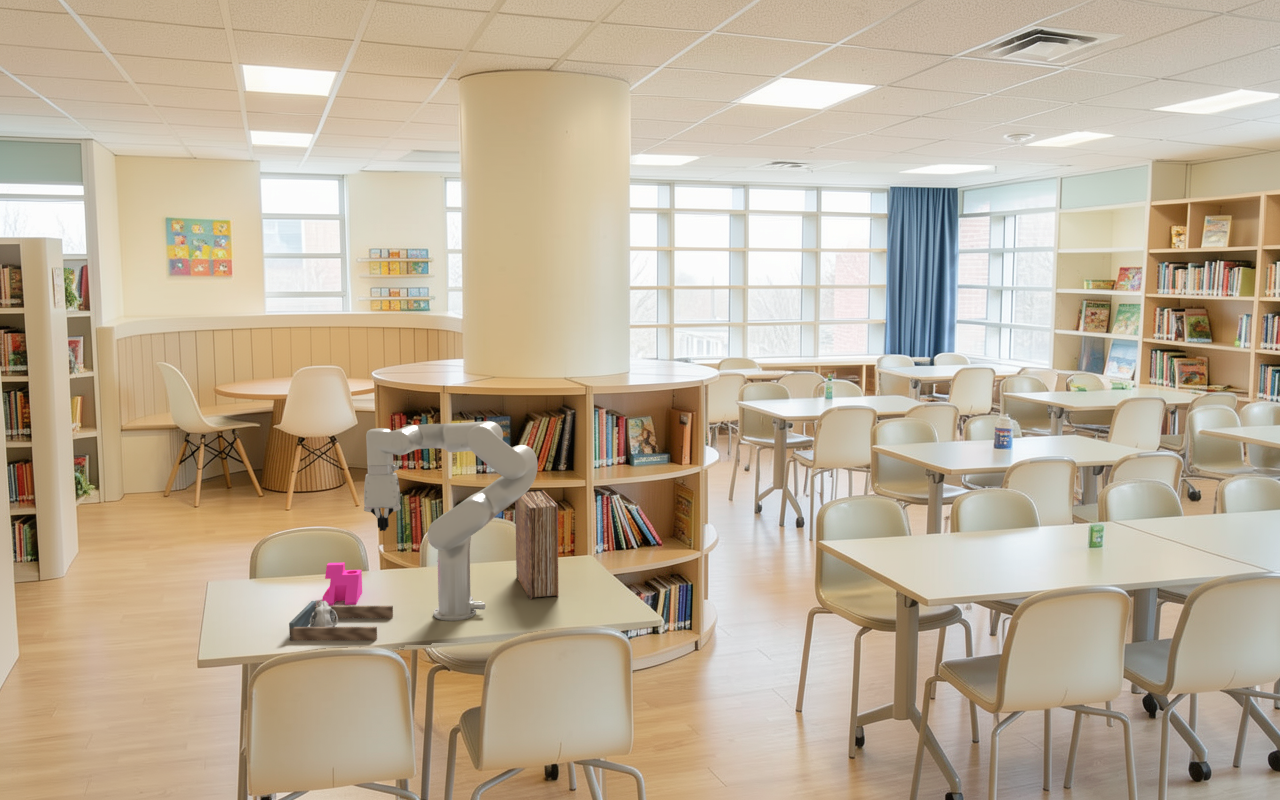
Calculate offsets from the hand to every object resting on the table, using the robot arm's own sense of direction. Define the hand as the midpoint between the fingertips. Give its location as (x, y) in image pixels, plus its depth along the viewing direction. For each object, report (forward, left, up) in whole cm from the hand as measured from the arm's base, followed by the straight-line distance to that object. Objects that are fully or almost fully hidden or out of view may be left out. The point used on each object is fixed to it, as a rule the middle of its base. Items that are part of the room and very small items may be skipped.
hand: (383, 529), depth 292 cm
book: (-43, -24, -26) cm, 56 cm away
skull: (+14, +15, -26) cm, 33 cm away
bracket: (+17, -12, -26) cm, 33 cm away
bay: (+9, +15, -25) cm, 30 cm away
